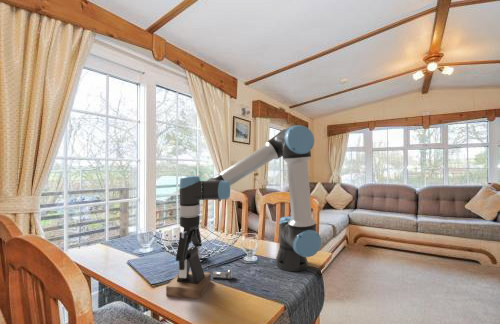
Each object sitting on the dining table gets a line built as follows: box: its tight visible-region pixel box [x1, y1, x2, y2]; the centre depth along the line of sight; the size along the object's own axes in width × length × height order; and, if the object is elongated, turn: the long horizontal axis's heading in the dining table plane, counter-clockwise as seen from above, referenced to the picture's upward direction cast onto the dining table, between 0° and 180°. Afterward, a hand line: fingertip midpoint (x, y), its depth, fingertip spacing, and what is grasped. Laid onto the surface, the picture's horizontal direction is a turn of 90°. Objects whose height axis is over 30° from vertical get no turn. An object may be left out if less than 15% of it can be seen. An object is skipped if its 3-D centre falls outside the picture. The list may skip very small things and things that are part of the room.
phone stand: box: [177, 245, 205, 284], centre depth 98 cm, size 9×6×12 cm, turn 76°
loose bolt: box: [211, 268, 233, 280], centre depth 107 cm, size 8×4×4 cm, turn 82°
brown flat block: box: [165, 270, 212, 299], centre depth 98 cm, size 13×13×4 cm
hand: (189, 269), depth 98 cm, fingers open, 13 cm apart
